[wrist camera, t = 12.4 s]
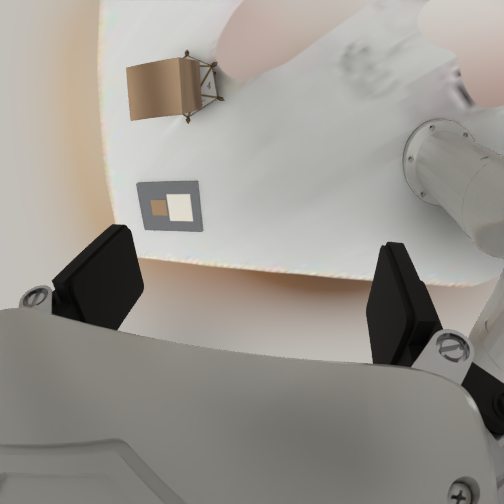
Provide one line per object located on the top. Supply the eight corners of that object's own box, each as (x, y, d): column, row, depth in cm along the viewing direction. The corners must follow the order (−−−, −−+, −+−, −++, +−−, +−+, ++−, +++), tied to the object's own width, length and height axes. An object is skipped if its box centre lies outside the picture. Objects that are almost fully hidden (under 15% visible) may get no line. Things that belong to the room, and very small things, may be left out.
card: (198, 181, 43) (196, 182, 43) (203, 230, 48) (201, 232, 47) (138, 182, 45) (136, 184, 44) (146, 228, 49) (144, 230, 48)
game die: (219, 84, 39) (247, 105, 33) (169, 117, 40) (186, 146, 34) (189, 35, 32) (213, 44, 26) (134, 71, 33) (143, 89, 27)
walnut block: (199, 60, 28) (178, 57, 23) (202, 108, 30) (182, 114, 25) (153, 68, 28) (126, 67, 23) (156, 113, 31) (130, 120, 26)
